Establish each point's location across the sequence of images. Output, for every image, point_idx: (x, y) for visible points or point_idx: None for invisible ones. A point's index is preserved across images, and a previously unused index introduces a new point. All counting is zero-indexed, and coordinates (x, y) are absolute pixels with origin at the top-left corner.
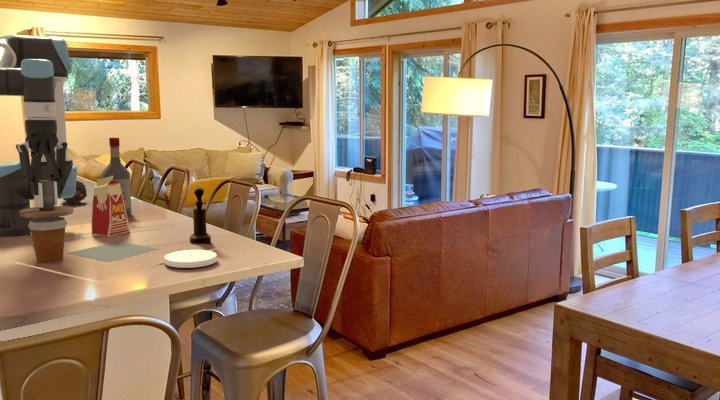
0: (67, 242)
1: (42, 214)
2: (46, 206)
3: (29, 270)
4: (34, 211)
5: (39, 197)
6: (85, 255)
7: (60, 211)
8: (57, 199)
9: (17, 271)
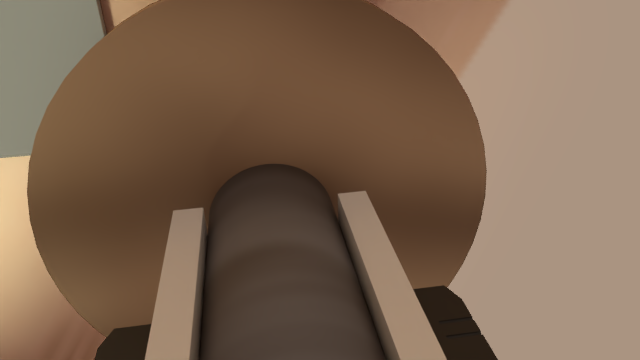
0: (12, 355)
1: (427, 44)
2: (310, 192)
3: (398, 10)
4: (380, 221)
5: (393, 259)
6: (72, 18)
7: (232, 50)
8: (170, 244)
9: (436, 39)
